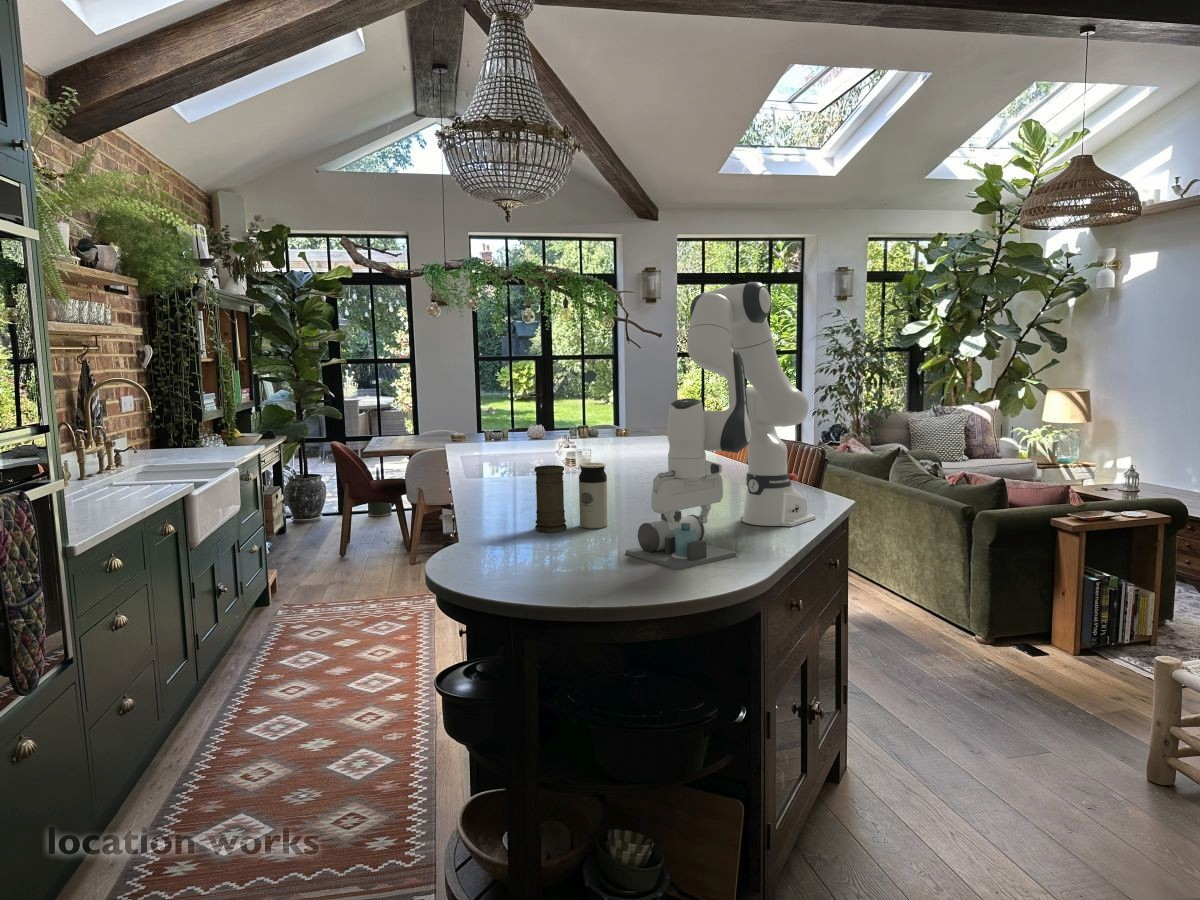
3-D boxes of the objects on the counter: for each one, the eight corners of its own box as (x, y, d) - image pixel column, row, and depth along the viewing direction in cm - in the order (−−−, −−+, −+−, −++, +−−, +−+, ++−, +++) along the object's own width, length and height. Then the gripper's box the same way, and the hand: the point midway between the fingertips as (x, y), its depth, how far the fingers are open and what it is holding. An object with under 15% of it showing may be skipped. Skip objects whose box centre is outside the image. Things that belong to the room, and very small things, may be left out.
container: (562, 533, 218) (561, 469, 215) (531, 532, 219) (529, 468, 217) (570, 526, 226) (568, 464, 224) (540, 526, 228) (538, 464, 226)
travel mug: (594, 522, 232) (592, 461, 230) (613, 525, 227) (612, 463, 225) (574, 526, 227) (572, 464, 225) (593, 530, 221) (592, 466, 219)
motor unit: (683, 542, 205) (683, 504, 204) (736, 556, 190) (736, 515, 189) (625, 553, 194) (625, 513, 193) (677, 569, 179) (677, 526, 177)
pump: (700, 554, 187) (700, 523, 186) (685, 558, 184) (684, 526, 183) (686, 550, 191) (686, 520, 190) (670, 554, 188) (670, 523, 187)
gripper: (662, 475, 176) (664, 535, 178) (727, 464, 188) (727, 521, 190) (644, 472, 181) (646, 531, 183) (708, 462, 193) (709, 517, 195)
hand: (688, 526), depth 187 cm, fingers open, 8 cm apart
